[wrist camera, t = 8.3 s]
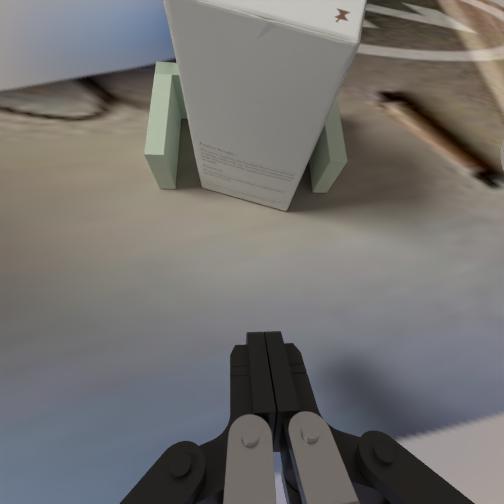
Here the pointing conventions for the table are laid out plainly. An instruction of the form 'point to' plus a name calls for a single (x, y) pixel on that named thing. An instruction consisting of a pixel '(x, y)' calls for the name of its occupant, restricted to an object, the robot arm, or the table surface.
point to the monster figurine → (502, 154)
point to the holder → (173, 110)
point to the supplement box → (260, 86)
